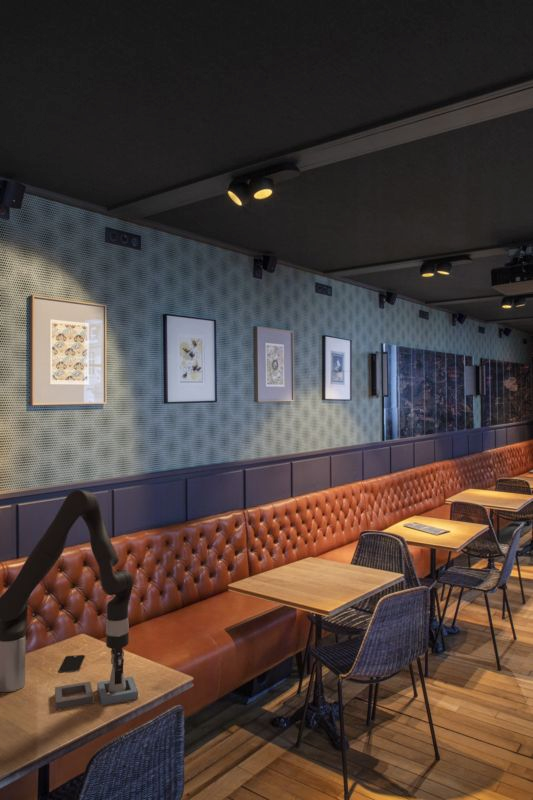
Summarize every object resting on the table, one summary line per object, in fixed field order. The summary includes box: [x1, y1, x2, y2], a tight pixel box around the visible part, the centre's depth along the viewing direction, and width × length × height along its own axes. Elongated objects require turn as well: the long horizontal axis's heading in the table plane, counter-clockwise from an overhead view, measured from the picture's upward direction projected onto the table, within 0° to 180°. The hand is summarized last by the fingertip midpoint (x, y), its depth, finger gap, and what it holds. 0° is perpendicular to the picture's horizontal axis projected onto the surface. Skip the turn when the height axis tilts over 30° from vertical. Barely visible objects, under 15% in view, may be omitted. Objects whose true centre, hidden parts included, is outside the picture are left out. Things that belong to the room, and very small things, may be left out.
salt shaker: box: [108, 656, 127, 694], centre depth 198 cm, size 6×6×13 cm
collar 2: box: [96, 676, 139, 706], centre depth 198 cm, size 12×12×2 cm
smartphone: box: [57, 654, 86, 674], centre depth 223 cm, size 8×1×15 cm
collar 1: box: [54, 681, 94, 711], centre depth 195 cm, size 12×12×2 cm
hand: (117, 681), depth 198 cm, fingers open, 3 cm apart
